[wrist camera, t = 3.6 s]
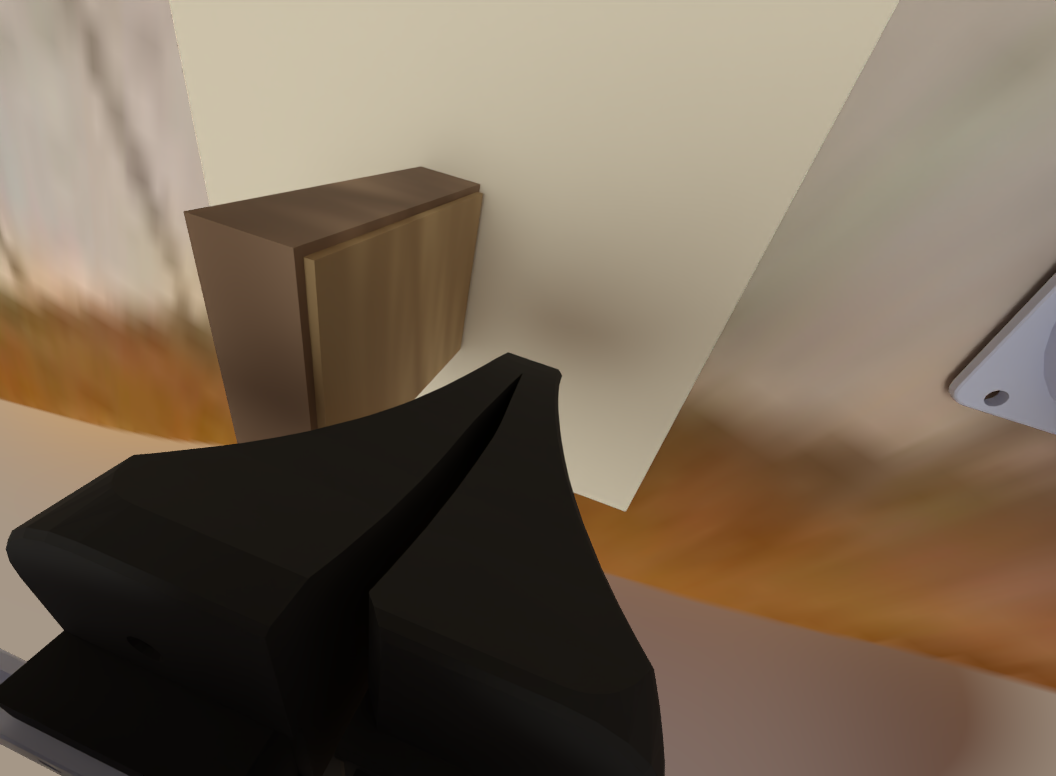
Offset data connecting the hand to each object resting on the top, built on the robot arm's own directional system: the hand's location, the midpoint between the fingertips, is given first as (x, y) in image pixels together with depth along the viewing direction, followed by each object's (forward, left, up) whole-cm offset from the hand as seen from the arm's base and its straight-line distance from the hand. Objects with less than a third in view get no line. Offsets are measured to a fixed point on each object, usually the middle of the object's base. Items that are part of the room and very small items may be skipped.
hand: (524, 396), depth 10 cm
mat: (+5, -1, -6) cm, 8 cm away
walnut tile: (+5, 0, -6) cm, 7 cm away
